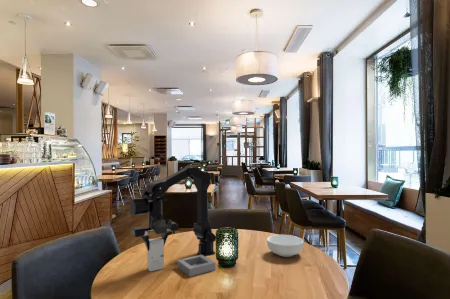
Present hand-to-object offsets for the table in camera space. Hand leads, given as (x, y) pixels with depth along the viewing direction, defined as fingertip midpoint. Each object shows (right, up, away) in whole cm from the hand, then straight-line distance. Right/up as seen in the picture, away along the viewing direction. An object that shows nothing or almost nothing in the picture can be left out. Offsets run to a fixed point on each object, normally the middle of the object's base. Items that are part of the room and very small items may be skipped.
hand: (155, 249), depth 121 cm
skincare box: (0, -8, 0) cm, 8 cm away
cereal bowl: (+58, -8, +15) cm, 61 cm away
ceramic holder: (+17, -8, -1) cm, 19 cm away
